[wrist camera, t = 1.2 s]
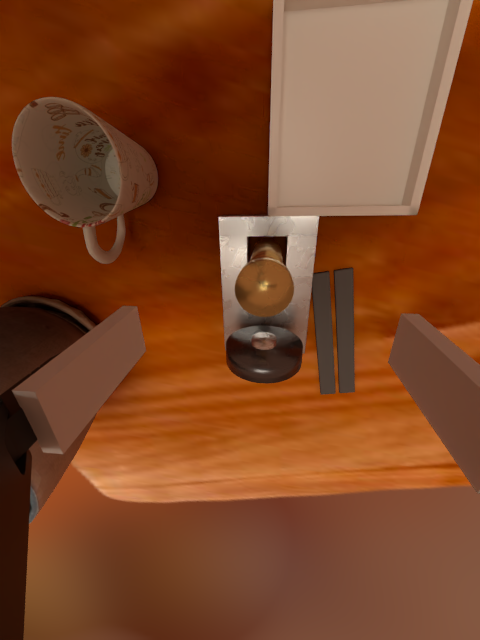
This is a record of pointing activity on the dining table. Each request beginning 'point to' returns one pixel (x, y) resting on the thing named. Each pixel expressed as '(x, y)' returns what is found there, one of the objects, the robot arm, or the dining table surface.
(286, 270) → the pin
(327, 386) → the pair of grey strips
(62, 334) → the potted plant
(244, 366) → the block
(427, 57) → the tray
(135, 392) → the dining table surface
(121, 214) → the mug
